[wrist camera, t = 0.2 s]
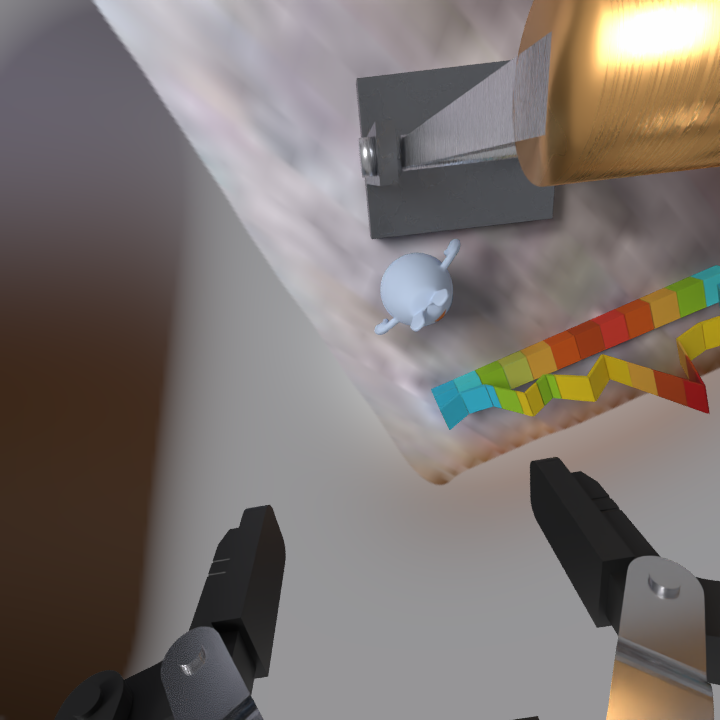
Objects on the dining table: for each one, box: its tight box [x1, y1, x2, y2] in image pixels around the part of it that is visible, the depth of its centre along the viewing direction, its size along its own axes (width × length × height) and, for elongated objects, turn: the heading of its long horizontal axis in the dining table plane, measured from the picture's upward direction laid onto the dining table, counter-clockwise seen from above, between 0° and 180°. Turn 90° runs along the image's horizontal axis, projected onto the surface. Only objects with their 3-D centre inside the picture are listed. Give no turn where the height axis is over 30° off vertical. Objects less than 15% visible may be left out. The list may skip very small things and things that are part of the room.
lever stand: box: [356, 60, 555, 239], centre depth 29 cm, size 12×18×16 cm
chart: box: [431, 265, 720, 430], centre depth 37 cm, size 30×3×15 cm, turn 116°
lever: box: [399, 0, 720, 187], centre depth 14 cm, size 3×13×20 cm, turn 96°
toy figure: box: [375, 239, 460, 335], centre depth 35 cm, size 11×6×12 cm, turn 140°
